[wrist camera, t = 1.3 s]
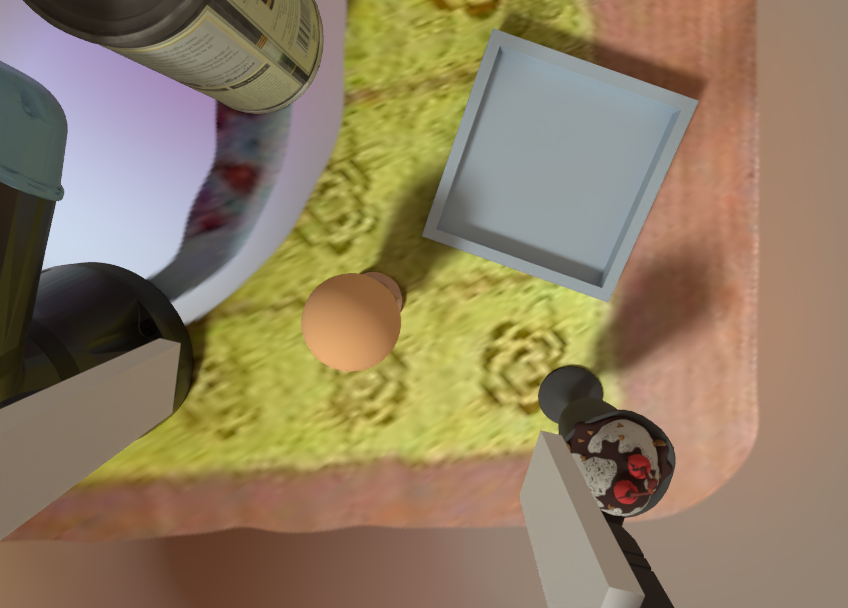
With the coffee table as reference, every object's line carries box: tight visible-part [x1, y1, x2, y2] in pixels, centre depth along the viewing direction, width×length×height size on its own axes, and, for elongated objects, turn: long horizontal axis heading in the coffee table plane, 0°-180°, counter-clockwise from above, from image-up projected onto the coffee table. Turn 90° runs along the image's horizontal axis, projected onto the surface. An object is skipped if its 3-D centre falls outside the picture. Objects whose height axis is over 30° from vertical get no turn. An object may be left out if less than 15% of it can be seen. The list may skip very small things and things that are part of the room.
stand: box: [362, 272, 403, 311], centre depth 32 cm, size 4×4×5 cm
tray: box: [422, 28, 699, 302], centre depth 31 cm, size 14×14×2 cm
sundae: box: [538, 366, 675, 526], centre depth 27 cm, size 7×7×15 cm
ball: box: [302, 273, 401, 371], centre depth 27 cm, size 6×6×6 cm
